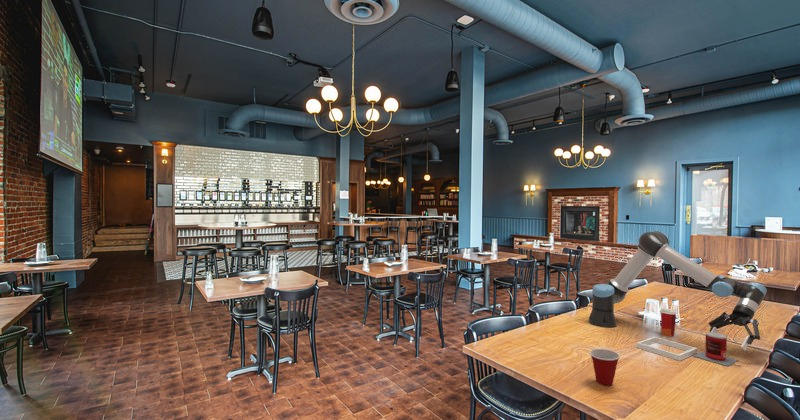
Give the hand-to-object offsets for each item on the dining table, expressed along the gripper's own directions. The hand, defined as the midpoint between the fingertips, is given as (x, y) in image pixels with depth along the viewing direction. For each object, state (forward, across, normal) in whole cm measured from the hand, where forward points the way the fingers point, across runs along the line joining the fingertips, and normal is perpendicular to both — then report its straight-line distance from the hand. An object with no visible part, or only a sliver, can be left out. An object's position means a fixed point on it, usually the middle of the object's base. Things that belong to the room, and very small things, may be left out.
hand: (725, 343), depth 181 cm
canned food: (+10, 0, +1) cm, 10 cm away
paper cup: (0, +31, -9) cm, 33 cm away
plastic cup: (+61, 0, +52) cm, 81 cm away
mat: (+10, 0, 0) cm, 10 cm away
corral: (+18, +15, +9) cm, 25 cm away
